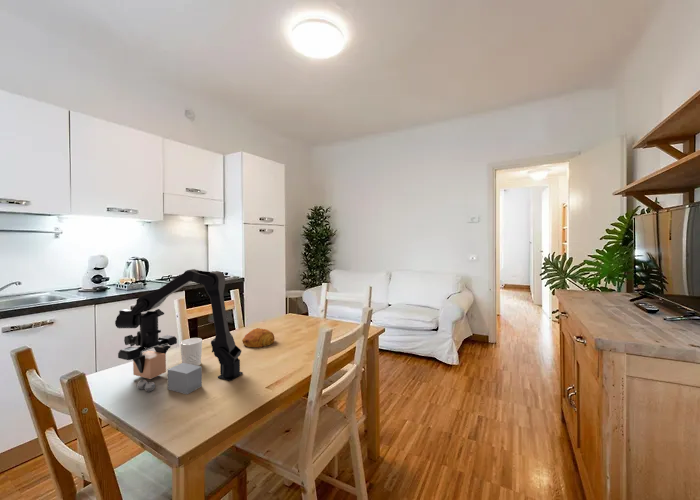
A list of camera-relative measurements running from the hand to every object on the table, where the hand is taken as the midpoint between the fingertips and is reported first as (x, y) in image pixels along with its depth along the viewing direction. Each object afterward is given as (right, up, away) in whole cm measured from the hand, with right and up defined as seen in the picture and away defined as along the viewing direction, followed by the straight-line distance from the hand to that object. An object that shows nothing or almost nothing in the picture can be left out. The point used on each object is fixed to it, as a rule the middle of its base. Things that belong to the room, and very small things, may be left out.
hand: (149, 369), depth 113 cm
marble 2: (+7, -3, -10) cm, 12 cm away
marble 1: (+3, -3, -9) cm, 10 cm away
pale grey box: (+17, -3, -8) cm, 19 cm away
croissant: (+29, -2, +38) cm, 48 cm away
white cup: (+10, -3, +11) cm, 15 cm away
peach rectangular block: (0, -2, 0) cm, 2 cm away
